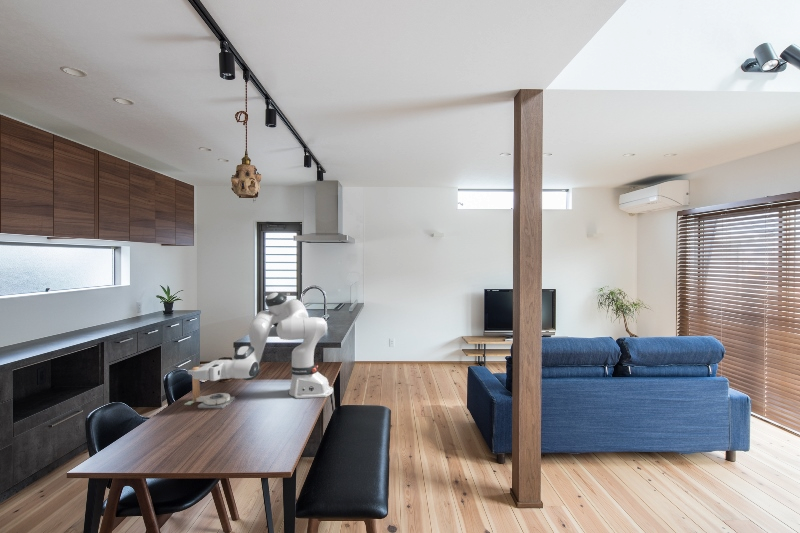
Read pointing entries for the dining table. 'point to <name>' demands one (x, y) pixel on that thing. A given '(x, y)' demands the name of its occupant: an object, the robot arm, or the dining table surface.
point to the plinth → (216, 404)
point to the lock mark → (189, 403)
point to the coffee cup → (225, 359)
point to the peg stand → (206, 399)
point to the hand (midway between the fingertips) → (194, 369)
